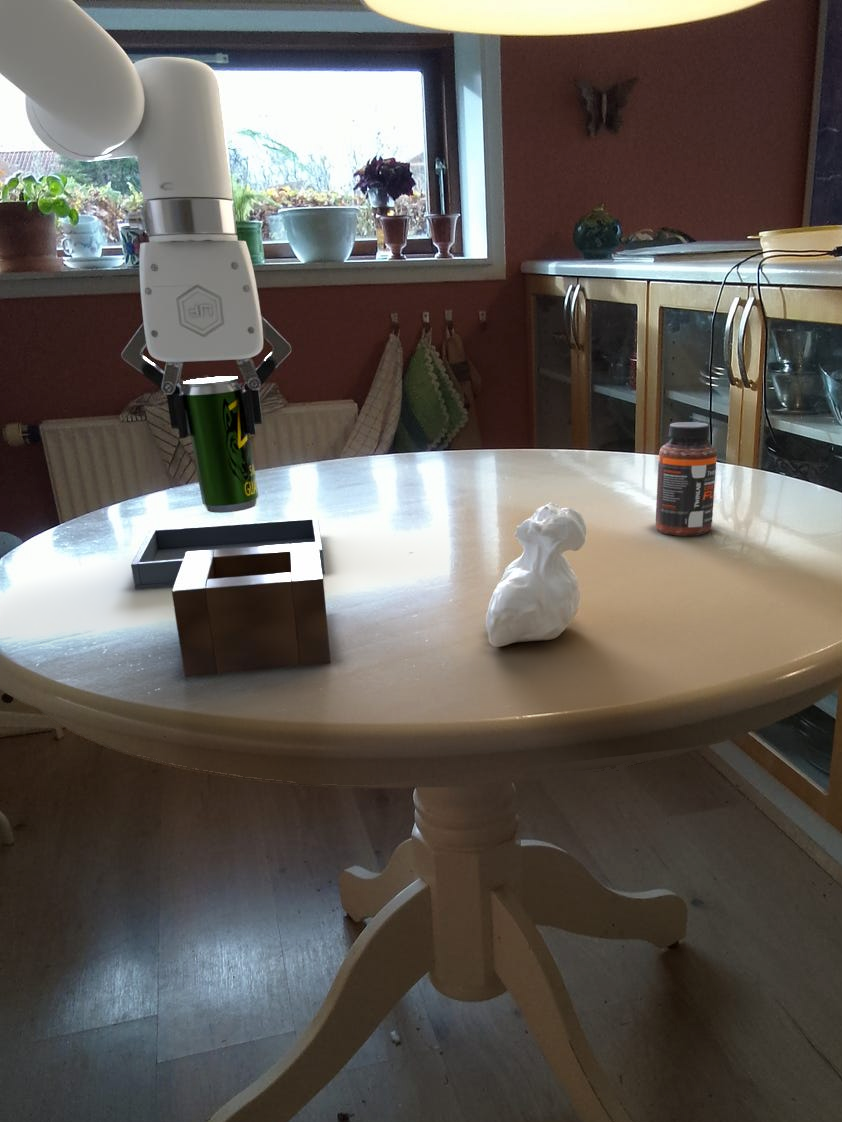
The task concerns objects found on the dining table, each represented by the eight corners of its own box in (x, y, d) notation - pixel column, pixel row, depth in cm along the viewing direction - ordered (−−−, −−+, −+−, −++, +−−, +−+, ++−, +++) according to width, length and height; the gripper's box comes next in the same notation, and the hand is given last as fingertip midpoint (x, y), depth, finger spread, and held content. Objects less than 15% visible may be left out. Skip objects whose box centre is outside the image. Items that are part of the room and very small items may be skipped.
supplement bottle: (712, 539, 96) (719, 428, 92) (653, 537, 97) (658, 428, 93) (711, 525, 101) (718, 420, 97) (656, 523, 102) (660, 419, 98)
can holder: (184, 678, 65) (171, 591, 63) (197, 629, 74) (185, 551, 72) (331, 664, 67) (323, 578, 64) (325, 618, 76) (318, 541, 74)
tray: (135, 590, 84) (130, 564, 83) (153, 552, 96) (150, 529, 96) (324, 575, 87) (322, 549, 86) (319, 540, 99) (317, 517, 99)
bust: (512, 690, 67) (608, 581, 61) (433, 621, 67) (522, 507, 62) (560, 634, 77) (645, 536, 72) (491, 575, 78) (572, 473, 72)
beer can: (199, 515, 87) (175, 385, 83) (207, 503, 92) (185, 379, 88) (257, 510, 88) (236, 380, 83) (262, 498, 93) (243, 374, 88)
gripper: (79, 224, 76) (117, 446, 82) (291, 220, 79) (311, 435, 85) (96, 229, 83) (130, 434, 89) (291, 226, 86) (309, 424, 92)
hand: (218, 432), depth 87 cm, fingers closed on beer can, 5 cm apart
